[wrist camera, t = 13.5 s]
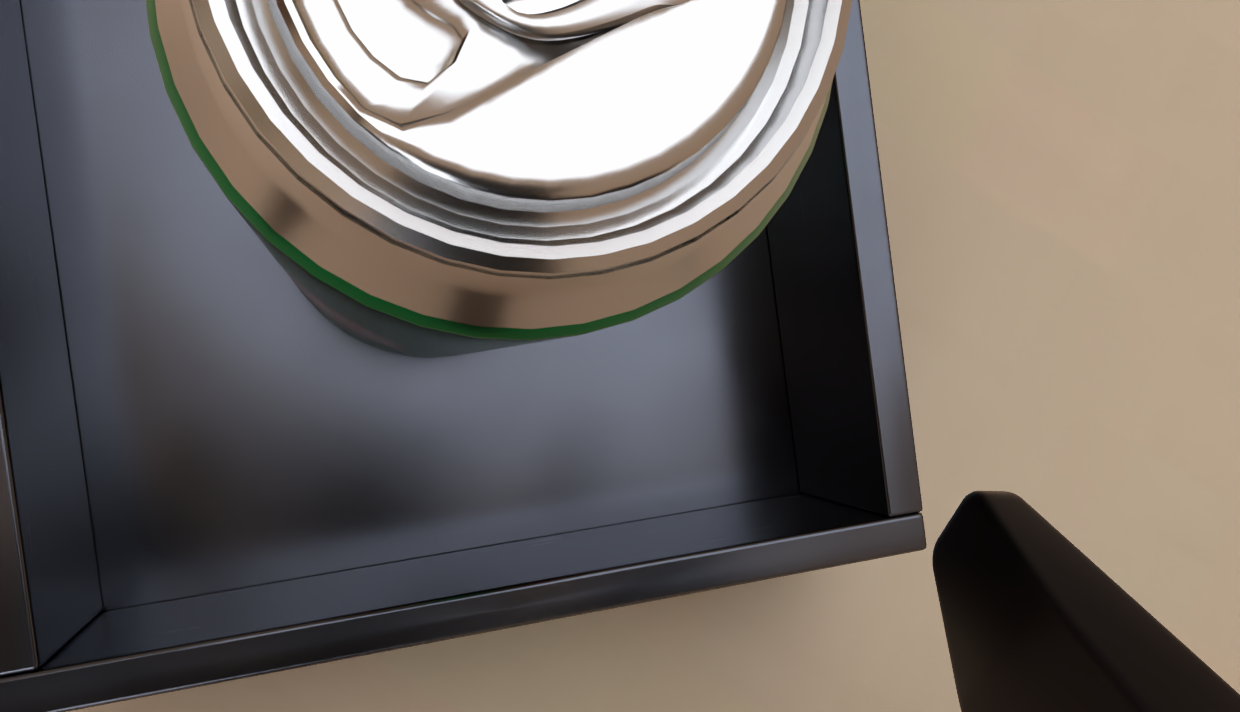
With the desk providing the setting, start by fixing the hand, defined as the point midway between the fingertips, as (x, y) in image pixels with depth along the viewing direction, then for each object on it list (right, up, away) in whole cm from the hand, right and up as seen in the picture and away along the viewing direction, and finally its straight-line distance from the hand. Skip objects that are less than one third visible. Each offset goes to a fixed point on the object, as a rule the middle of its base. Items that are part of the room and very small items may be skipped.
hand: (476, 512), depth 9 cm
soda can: (-2, +4, +10) cm, 10 cm away
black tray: (-2, +4, +10) cm, 11 cm away
